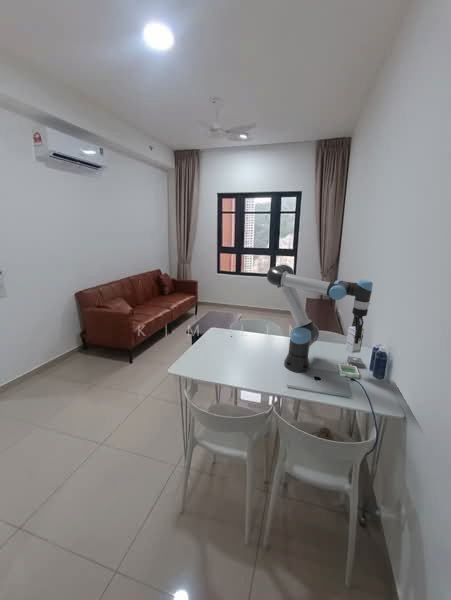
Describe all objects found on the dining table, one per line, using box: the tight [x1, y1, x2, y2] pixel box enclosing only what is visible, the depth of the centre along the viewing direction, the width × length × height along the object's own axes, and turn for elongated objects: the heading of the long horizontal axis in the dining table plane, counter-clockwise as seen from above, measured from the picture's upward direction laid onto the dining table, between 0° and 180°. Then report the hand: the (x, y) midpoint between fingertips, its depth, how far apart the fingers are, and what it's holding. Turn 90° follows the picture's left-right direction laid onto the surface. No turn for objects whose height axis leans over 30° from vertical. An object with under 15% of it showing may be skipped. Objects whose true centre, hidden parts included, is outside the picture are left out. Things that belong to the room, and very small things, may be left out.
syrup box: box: [345, 326, 365, 354], centre depth 156 cm, size 6×6×14 cm
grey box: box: [346, 355, 364, 371], centre depth 170 cm, size 8×13×4 cm, turn 165°
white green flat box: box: [336, 362, 360, 380], centre depth 162 cm, size 10×13×3 cm
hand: (353, 345), depth 157 cm, fingers closed on syrup box, 7 cm apart
